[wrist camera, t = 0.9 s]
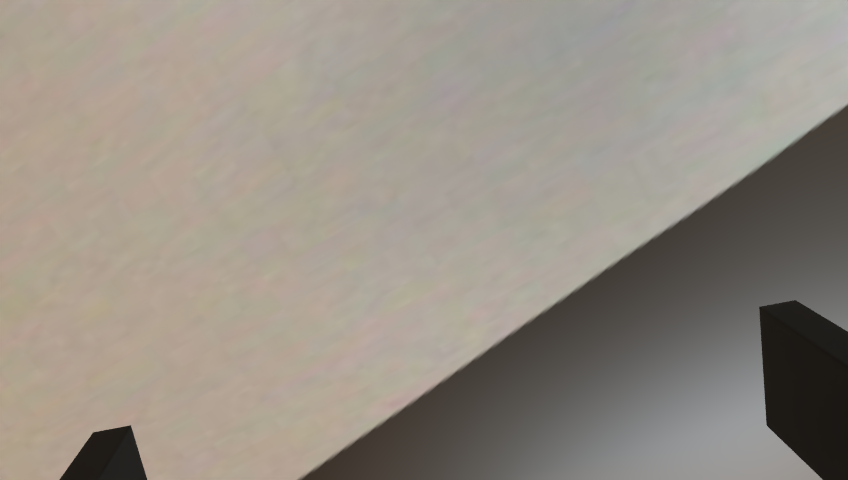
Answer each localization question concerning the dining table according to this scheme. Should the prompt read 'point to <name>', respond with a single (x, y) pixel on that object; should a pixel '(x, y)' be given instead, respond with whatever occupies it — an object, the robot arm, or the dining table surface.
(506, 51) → the dining table surface
